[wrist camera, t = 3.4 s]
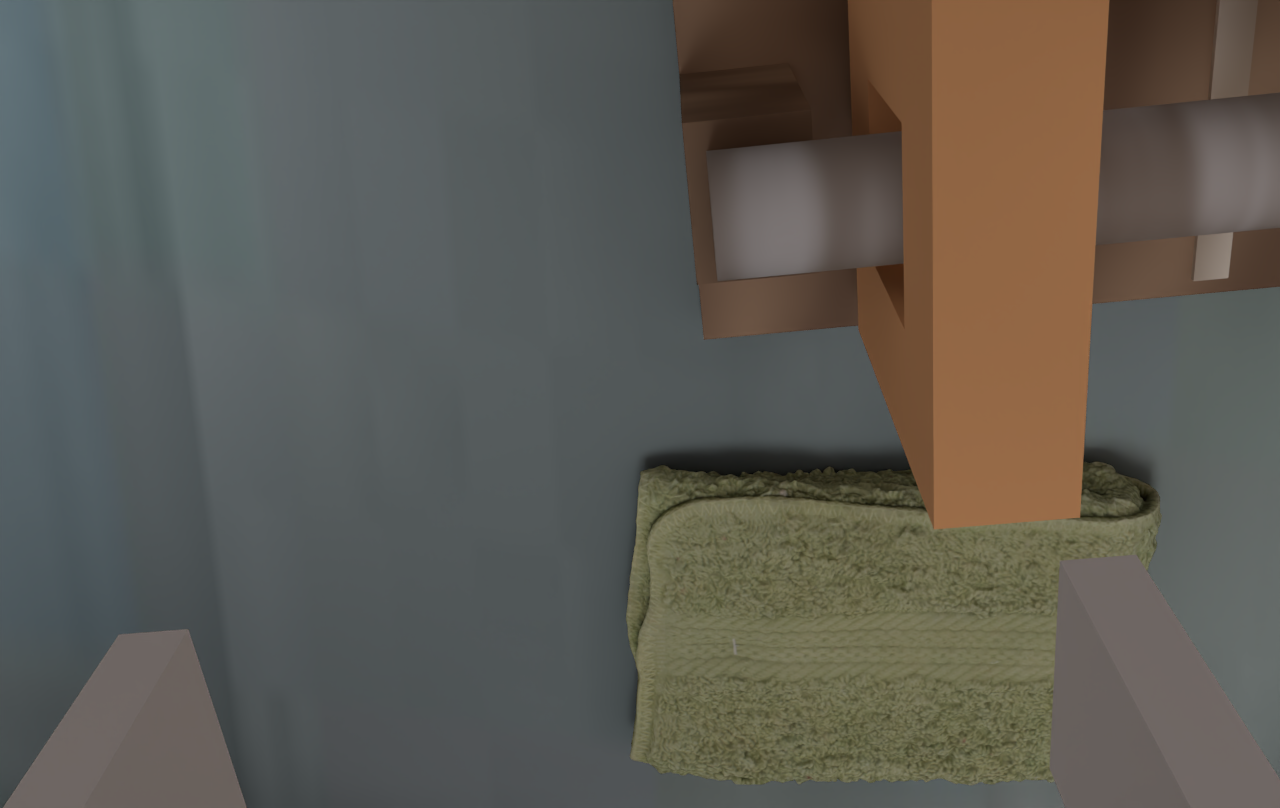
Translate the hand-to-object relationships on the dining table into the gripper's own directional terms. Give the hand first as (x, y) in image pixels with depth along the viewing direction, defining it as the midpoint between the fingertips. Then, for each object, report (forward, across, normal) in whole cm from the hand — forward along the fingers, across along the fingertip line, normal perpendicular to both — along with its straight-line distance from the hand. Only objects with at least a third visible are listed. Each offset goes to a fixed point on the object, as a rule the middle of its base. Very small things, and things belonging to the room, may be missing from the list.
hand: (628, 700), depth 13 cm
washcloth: (+26, -6, +18) cm, 32 cm away
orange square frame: (+22, -7, 0) cm, 24 cm away
